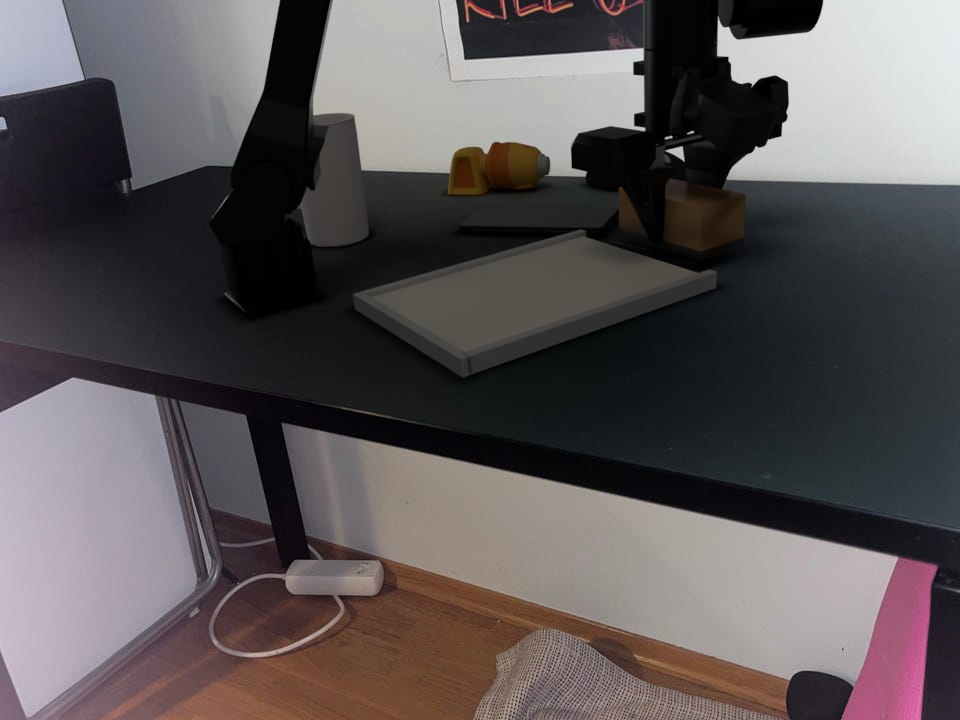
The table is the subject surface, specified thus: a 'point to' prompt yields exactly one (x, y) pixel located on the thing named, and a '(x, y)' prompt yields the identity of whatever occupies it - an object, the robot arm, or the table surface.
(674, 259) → the mark
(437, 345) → the grey tray
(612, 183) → the computer mouse
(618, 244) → the mark
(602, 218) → the smartphone
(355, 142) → the mug
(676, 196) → the eraser
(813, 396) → the table surface
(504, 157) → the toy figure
